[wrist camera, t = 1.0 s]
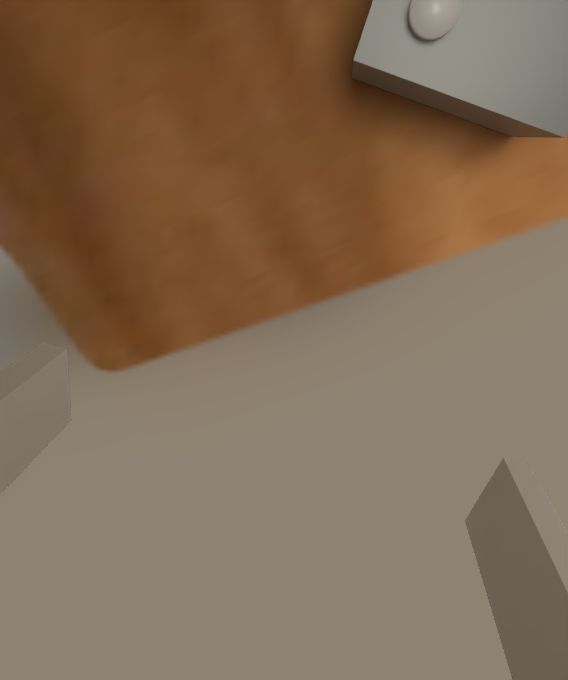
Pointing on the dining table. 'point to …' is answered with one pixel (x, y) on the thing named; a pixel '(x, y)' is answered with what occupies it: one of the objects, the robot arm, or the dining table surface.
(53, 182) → the dining table surface
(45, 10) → the dining table surface
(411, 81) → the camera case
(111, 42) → the dining table surface
